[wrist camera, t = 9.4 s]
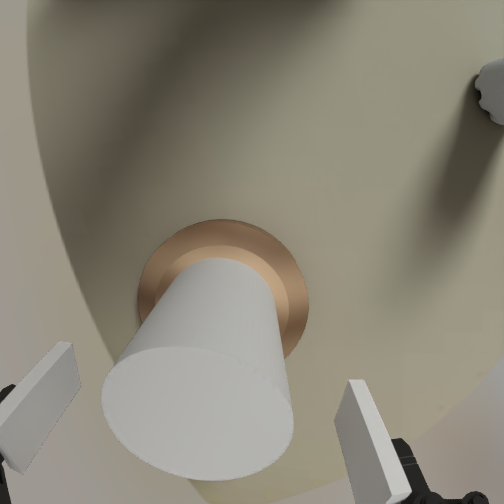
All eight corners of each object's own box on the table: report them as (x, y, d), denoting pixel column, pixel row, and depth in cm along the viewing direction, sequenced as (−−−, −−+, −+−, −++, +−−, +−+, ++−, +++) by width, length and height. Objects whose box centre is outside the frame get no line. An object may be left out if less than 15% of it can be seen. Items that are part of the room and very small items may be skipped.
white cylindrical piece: (176, 359, 24) (133, 474, 12) (158, 262, 22) (75, 344, 10) (278, 354, 24) (293, 477, 12) (271, 253, 22) (291, 339, 10)
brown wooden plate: (148, 211, 23) (138, 215, 21) (316, 229, 24) (322, 235, 22) (147, 356, 27) (140, 369, 24) (290, 373, 27) (293, 388, 25)
